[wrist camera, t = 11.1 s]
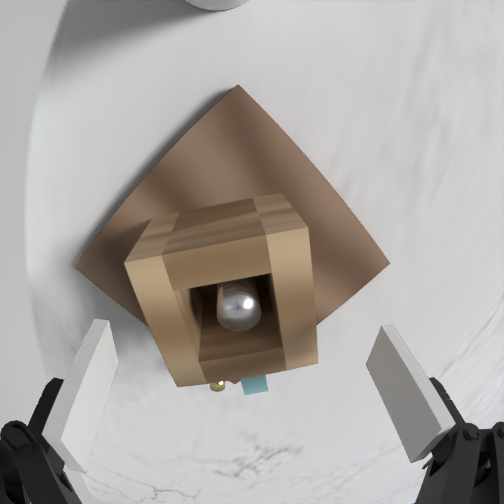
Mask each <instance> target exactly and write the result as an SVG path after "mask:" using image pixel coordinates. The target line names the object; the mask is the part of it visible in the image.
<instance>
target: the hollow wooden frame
mask: <svg viewBox="0 0 504 504" xmlns="http://www.w3.org/2000/svg"><path fill="white" fill-rule="evenodd" d="M124 264H125V267H126V270H127V273H128V275H129V278H130V281H131V283H132V286H133V289H134V291H135V294H136V296H137V299H138V301H139V304H140V306H141V309H142V311H143V314H144V316H145V319H146V321H147V323H148V326H149V328H150V330H151V333H152V335H153V337H154V339H155V342H156V344H157V346H158V348H159V350H160V353H161V355H162V357H163V359H164V361H165V363H166V365H167V367H168V370H169V372H170V374H171V376H172V378H173V380H174V382H175V384H176V386H177V387H184V386H193V385H201V384H209V383H216V382H223V381H230V380H237V379H240V380H241V383H242V387H243V390H244V393H245V395H247V394H253V393H259V392H265V391H268V387H267V381H266V374H271V373H276V372H281V371H286V370H291V369H295V368H300V367H304V366H309V365H313V364H317V363H318V349H317V330H316V314H315V299H314V286H313V274H312V262H311V251H310V241H309V231H308V226H307V225H306V224H305V222H304V221H303V220H302V218H301V217H300V216H299V215H298V213H297V212H296V211H295V209H294V208H293V207H292V206H291V204H290V203H289V202H288V200H287V199H286V198H285V197H284V195H283V194H282V193H277V194H271V195H266V196H260V197H255V198H249V199H244V200H238V201H233V202H228V203H223V204H218V205H213V206H208V207H203V208H198V209H193V210H189V211H184V212H179V213H175V214H170V215H166V216H161V217H157V218H152V220H151V221H150V223H149V224H148V226H147V227H146V229H145V230H144V232H143V234H142V235H141V237H140V238H139V240H138V241H137V243H136V244H135V246H134V248H133V249H132V251H131V252H130V254H129V255H128V257H127V259H126V260H125V262H124ZM263 274H265V275H266V281H267V287H264V288H258V289H257V292H258V297H259V302H260V307H261V318H260V320H259V322H258V323H257V324H256V325H255V326H254V327H253V328H251V329H249V330H246V331H240V332H236V331H231V330H228V329H226V328H224V327H223V326H222V325H221V324H220V323H219V321H218V318H217V296H215V297H210V298H204V299H203V296H202V293H201V289H200V286H204V285H210V284H215V283H221V282H226V281H231V280H237V279H242V278H247V277H253V276H258V275H263Z"/></svg>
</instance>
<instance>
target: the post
mask: <svg viewBox="0 0 504 504" xmlns="http://www.w3.org/2000/svg"><path fill="white" fill-rule="evenodd" d="M217 318H218V321H219V323H220V324H221V325H222V326H223V327H224V328H226V329H228V330H231V331H236V332H240V331H246V330H249V329H251V328H253V327H254V326H255V325H256V324H257V323H258V322H259V320H260V318H261V307H260V302H259V297H258V292H257V287H256V282H255V277H254V276H253V277H247V278H242V279H237V280H231V281H226V282H221V283H217Z"/></svg>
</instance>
